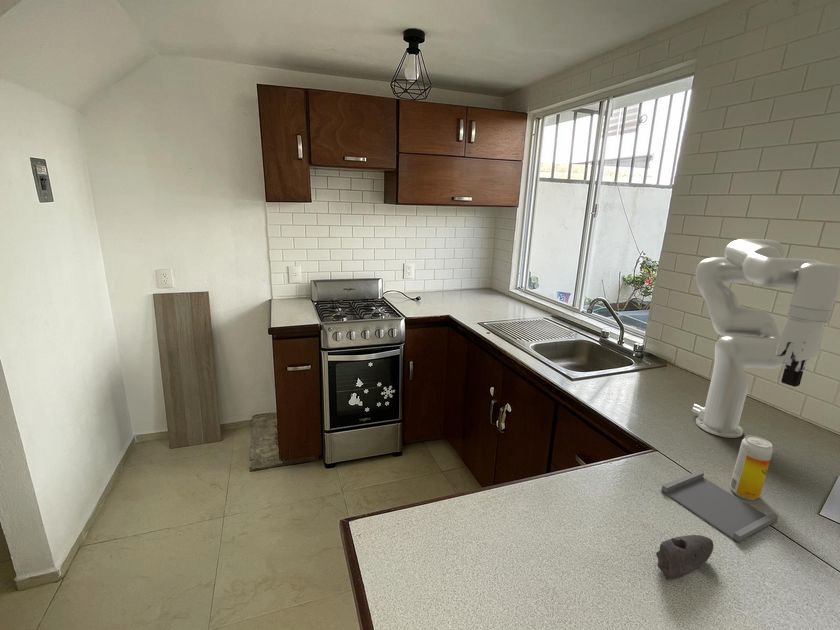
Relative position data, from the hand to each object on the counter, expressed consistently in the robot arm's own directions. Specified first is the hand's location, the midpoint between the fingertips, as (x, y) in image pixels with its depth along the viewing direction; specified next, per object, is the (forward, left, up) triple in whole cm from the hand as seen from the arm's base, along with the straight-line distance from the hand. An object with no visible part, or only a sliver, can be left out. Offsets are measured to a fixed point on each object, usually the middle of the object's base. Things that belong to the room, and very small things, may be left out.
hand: (790, 384), depth 106 cm
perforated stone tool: (+10, -49, -27) cm, 57 cm away
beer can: (+2, -13, -27) cm, 30 cm away
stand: (+2, -25, -27) cm, 36 cm away
